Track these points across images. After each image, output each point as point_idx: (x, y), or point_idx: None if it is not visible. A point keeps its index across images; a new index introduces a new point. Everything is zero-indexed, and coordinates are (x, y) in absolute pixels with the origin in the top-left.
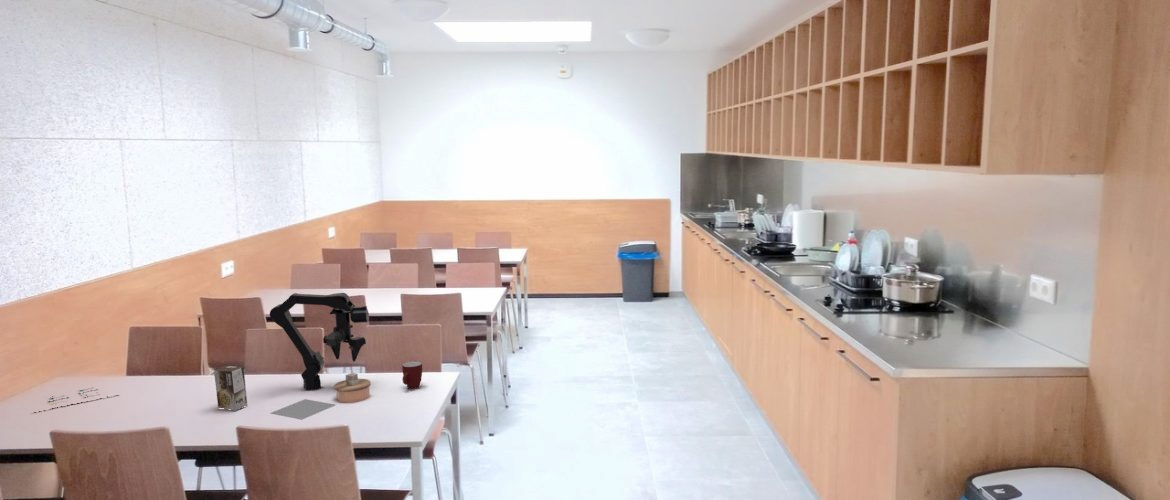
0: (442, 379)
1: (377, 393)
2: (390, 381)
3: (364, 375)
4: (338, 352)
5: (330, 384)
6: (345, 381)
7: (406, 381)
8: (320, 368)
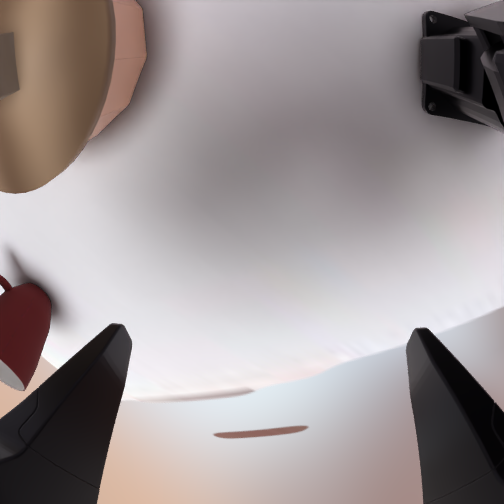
0: (60, 362)
1: (53, 188)
2: (160, 326)
3: (344, 346)
4: (426, 422)
5: (436, 195)
6: (74, 65)
7: (11, 294)
8: (492, 69)
